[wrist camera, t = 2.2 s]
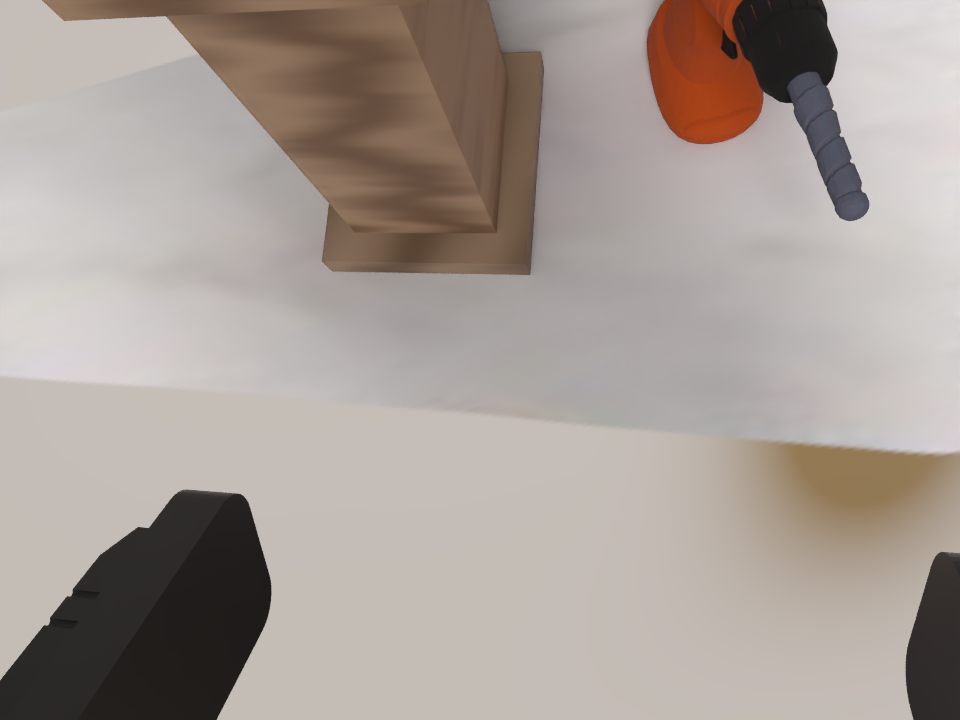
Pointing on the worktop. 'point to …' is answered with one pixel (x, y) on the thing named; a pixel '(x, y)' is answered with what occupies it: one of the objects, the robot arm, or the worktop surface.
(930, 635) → the robot arm
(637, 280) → the worktop surface
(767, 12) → the toy drill
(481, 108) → the walnut stand
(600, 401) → the worktop surface
